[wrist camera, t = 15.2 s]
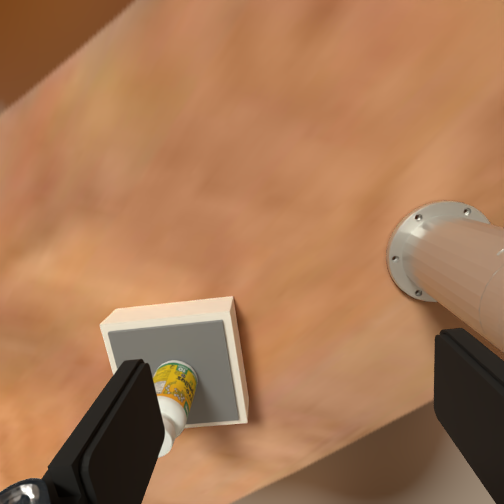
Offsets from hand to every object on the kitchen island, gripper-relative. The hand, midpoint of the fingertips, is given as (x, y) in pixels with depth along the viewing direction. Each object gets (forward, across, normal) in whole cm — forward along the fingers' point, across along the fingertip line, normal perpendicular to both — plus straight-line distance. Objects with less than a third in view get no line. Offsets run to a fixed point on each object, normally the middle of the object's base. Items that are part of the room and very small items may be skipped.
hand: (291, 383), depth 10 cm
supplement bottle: (+26, +14, +17) cm, 34 cm away
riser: (+30, +14, +17) cm, 37 cm away
